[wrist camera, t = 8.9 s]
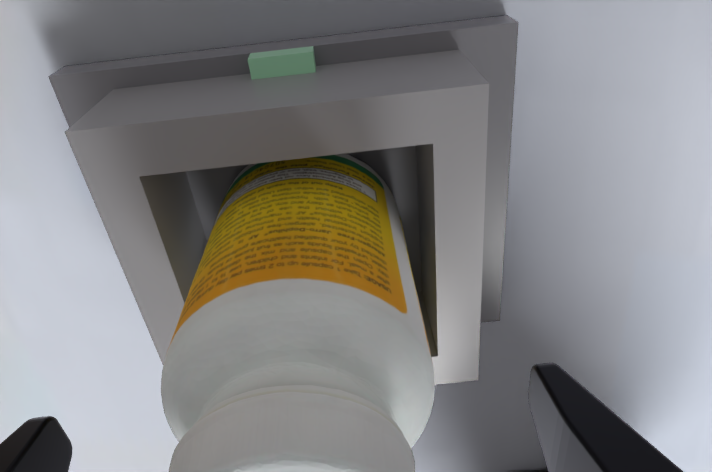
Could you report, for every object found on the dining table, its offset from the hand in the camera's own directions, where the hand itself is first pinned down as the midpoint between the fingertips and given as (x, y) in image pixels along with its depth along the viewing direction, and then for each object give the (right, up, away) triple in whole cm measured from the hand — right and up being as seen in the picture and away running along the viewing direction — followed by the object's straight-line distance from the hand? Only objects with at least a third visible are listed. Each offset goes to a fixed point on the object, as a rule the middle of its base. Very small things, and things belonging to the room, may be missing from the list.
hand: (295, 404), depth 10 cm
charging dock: (0, +4, +7) cm, 8 cm away
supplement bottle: (0, +4, +6) cm, 7 cm away
